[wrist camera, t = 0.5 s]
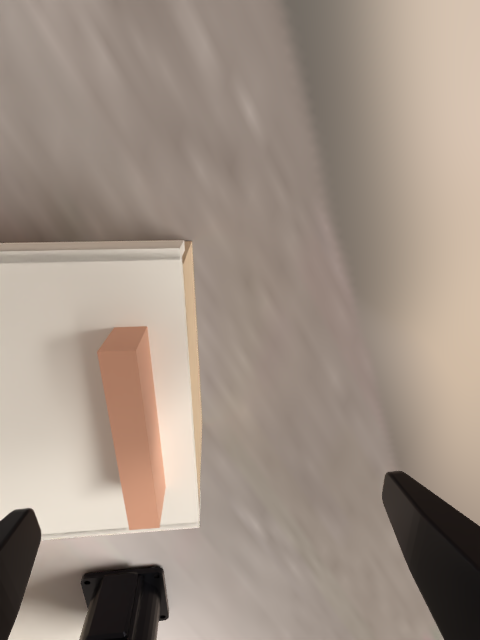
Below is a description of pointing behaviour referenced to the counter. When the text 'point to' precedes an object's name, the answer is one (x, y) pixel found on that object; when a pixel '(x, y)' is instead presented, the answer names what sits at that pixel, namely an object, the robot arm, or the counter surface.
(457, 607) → the robot arm
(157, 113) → the counter surface
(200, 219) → the counter surface
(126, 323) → the lid
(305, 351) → the counter surface
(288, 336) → the counter surface
